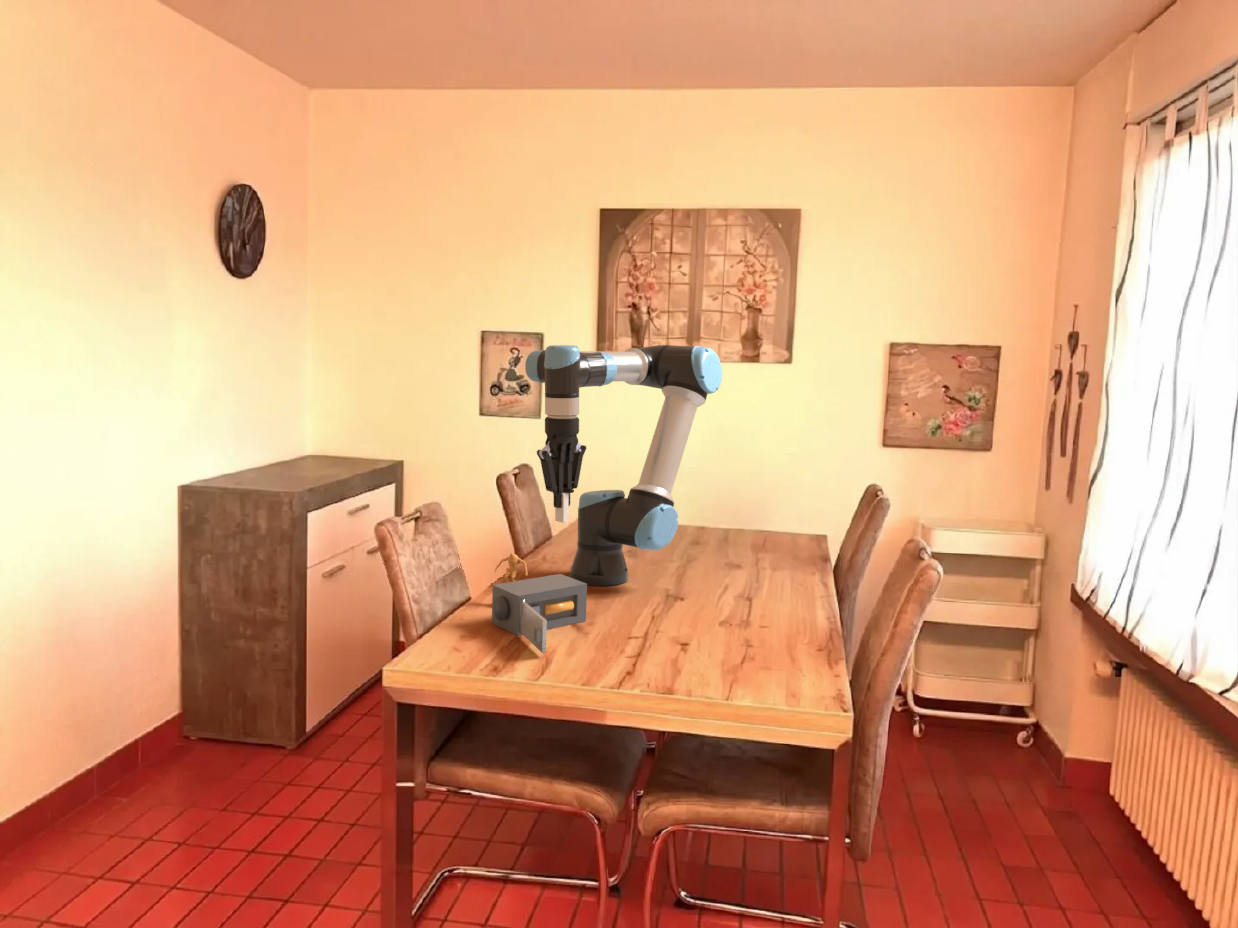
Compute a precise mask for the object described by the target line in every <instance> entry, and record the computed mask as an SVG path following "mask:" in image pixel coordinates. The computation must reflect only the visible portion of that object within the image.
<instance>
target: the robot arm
mask: <svg viewBox="0 0 1238 928" xmlns="http://www.w3.org/2000/svg"><path fill="white" fill-rule="evenodd" d="M524 363H525V364H524V368H525V374H526V376H527V377H528V378H529V380H530V381H533V382H536V383H540V384H544V414H545V415H546V417H545V418H544V433H545V434H546V439H545V443H544V444H545V445H544V447H542V449H537V451H536V455H537V456H538V458H539V460H540V466H541V471H542V477H543V481H544V485H545V490H546V491H547V492H550V493H553V494H552V495H553V508H555V509H554V511H555V515H554V516H555V519H554V520H555V522H558V523H562V524H565V523H569V512H570V511H569V507H570V506H571V494H573V493H574V492H575V490H574V489H577V488H578V487H579V480H580V475H581V469H582V465H583V460H584V459H583V458H584V455H585V452H586V450H587V445H582V444H581V443H580V442H579V438H578V434H579V433H580V418H579V417H578V416H579V415H580V388H587V387H588V388H590V387H602V386H606V385H609V384H611V383H612V382H624V383H626V384H628V385H631V386H645V387H648V388H649V387H650V388H654V389H660V390H661V392H662V395H663V396H664V400H663V404H662V406H661V411H660V414H659V416H658V420H657V422H656V426H655V430H654V433H653V436H652V439H651V443H650V445H649V449H648V452H647V454H646V459H645V461H644V465H643V468H642V472H641V474H640V477H639V481H638V484H636V485H635V486H633V487H631V488H630V489H629V493H628V495H627V498H626V495H625V492H624V491H623V490H621V489H604V490H593V491H587V492H584V493H582V494H581V495H580V497H579V499H578V508H577V518H578V519H577V548H576V549H577V550H576V552H575V555H574V558H573V561H572V564H571V567H570V568H569V569H570V570H569V577H570V578H573V579H575V580H578V581H581V582H584V583H586V584H587V586H600V587H601V586H605V587H606V586H607V587H609V586H616V585H622V584H624V583H626V582H627V581H628V580H629V570H628V566H627V563H626V558H625V554H624V551H623V546H628V547H634V548H638V549H641V551H642V550H643V551H645V550H650V551H659V550H662V549H664V548H665V547H666V546H668V545H669V544H670V543H671V542H672V540H673V539H674V537H675V535H676V533H677V530H678V527H679V526H678V525H679V519H678V518H679V515H678V512H677V510H676V508H675V507H674V506H675V501H674V499H673V496H672V492H673V489H674V486H675V483H676V479H677V477H678V476H677V475H678V472H679V469H680V466H681V462H682V459H683V457H684V452H685V448H686V445H687V443H688V439H689V435H690V433H691V430H692V425H693V423H694V419H695V416H696V413H697V410H698V407H701V406H703V405H704V404H705V403H706V401H707V396H708V394H710V395H712V394H713V393H714V394H715V392H717V391H718V390H719V388H720V387H721V383H722V380H723V379H722V378H723V368H722V365H721V360H720V357H719V355H718V354H717V353H716V351H715V350H714V349H712V348H710V347H706V346H700V345H695V346H693V345H691V346H689V345H670V344H662V345H661V344H660V345H659V344H658V345H652V346H645V347H630V348H627V349H625V350H624V351H603V350H601V351H597V350H596V351H593V350H589V351H586V350H583V351H581V350H580V348H579V347H578V346H577V345H574V344H573V345H571V344H570V345H569V344H564V345H563V344H560V345H558V344H556V345H553V344H552V345H548V346H546V348H545V349H541V350H533V351H531V352H530V353H529V354H528V355H527V357H526V359H525V362H524Z"/></svg>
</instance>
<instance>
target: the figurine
mask: <svg viewBox="0 0 1238 928" xmlns="http://www.w3.org/2000/svg"><path fill="white" fill-rule="evenodd" d="M503 562H504V563H505V562H507V563H508V566H509V567H507V568H506V571H505V574H504V577H503V578H504V580H505V583H508V582H510V579H508V577H509V576H511V582H514V581H516V580H515V578H516V576H517V573H518V568H516V567H517V565H518V562H519V563H520V564H523V566H524V570H525V572H524V575H525V576H524V577H528V568H527V563H526V562H525V561H524V559H523V560H522V559H521V558H520V557H519V555H518V554H515V553H513V552H511V553H510V555H509V556H507V557H505V558H503V559H501V560H500V561H499V563H498V564H497V565H496V567H495V569H494V572H496V571H497V569H499V567H500V566H501V564H503Z"/></svg>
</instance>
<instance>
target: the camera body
mask: <svg viewBox="0 0 1238 928" xmlns="http://www.w3.org/2000/svg"><path fill="white" fill-rule="evenodd" d="M587 596H588V585H587V584H586V583H584V582H581V581H578V580H575V579H573V578H570V576H567V575H564V574H562V573H557V574H551V575H545V576H541V577H539V576H538V577H532V578H526V579H521V580H515V581H514V582H512V581H509V582H508V583H507V582H503V583H498V584H493V585H492V596H491V597H492V599H491V601H492V602H491V603H492V604H491V605H492V606H491V609H492V610H491V611H492V612H491V624H493V625H495V626H498V627H499V628H501V629H503V630H505V631H507V632H509V633H511V632H512V633H511V634H513V635H516V636H522V635H523V634H520V633H519V622H520V599H525V602H526V603H527V604H528V605H529V606H531V607H532V608H533V609H534V610H535V611H536V612H538V613H539V614H540V615H541V616H542V617H544V618H545V619H546V620H547V630H550V629H551V630H552V629H555V628H560V626H561V627H564V626H568V625H569V626H570V625H574V624H579V623H584V622H587V621H586V620H587V599H588V597H587Z"/></svg>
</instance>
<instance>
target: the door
mask: <svg viewBox="0 0 1238 928" xmlns="http://www.w3.org/2000/svg"><path fill="white" fill-rule="evenodd" d="M547 630H548V629H547V620H546V619H545V618H544V617H542V616H541V615H540V614H539V613H538V612H536V611H535V610H534V609H533V608H532V607H531V606H529V605H528V604H527V603H526V602H525V599H520V622H519V633H520V634H522V635H523V637H525V638H526V639H527V640H528V641H529V642H530V643H531V644H532V645H533V646H534V647H535V648H536V649H537V650H538V651H540V653H541V654H546V653H547V635H548V634H547V632H548V631H547Z"/></svg>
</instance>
